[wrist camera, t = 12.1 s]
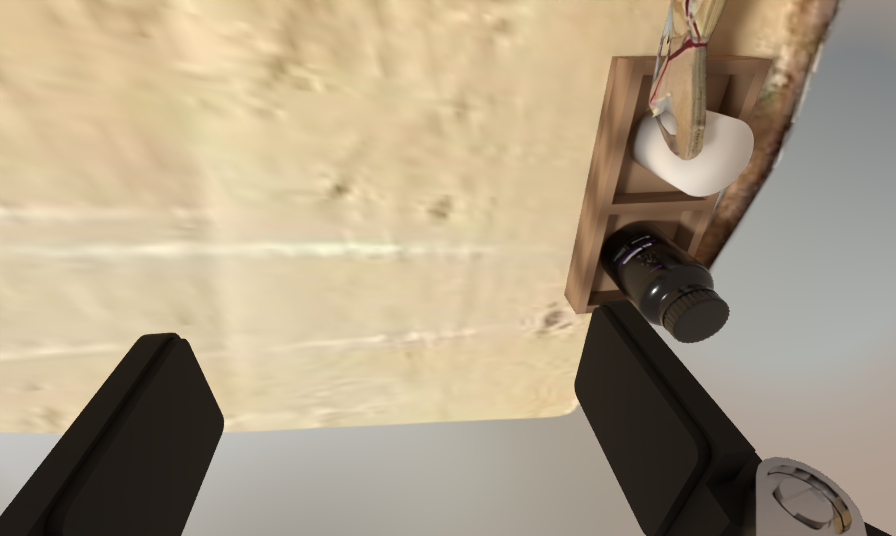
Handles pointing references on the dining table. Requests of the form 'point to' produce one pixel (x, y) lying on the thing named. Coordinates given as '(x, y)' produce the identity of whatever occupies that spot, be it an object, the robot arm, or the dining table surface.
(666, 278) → the supplement bottle
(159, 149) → the dining table surface
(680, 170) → the white rounded cylinder
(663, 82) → the toy shark
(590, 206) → the caddy
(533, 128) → the dining table surface
